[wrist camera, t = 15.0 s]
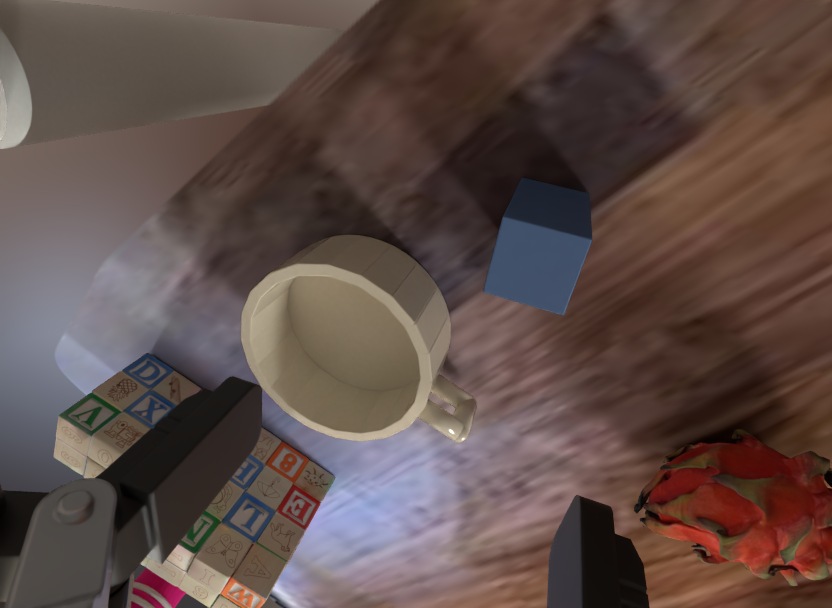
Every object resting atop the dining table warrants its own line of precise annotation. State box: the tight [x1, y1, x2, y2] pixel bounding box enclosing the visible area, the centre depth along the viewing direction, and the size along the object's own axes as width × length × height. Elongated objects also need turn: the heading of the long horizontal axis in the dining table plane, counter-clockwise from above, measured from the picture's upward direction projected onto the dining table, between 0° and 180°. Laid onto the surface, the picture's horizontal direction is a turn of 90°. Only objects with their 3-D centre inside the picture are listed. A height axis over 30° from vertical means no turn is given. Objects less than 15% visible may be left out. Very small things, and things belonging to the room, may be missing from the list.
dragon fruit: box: [634, 429, 832, 586], centre depth 30 cm, size 8×8×12 cm
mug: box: [241, 235, 477, 443], centre depth 34 cm, size 17×14×6 cm
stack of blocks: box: [54, 353, 335, 608], centre depth 42 cm, size 21×6×12 cm, turn 61°
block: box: [483, 178, 592, 315], centre depth 26 cm, size 4×4×8 cm
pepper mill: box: [131, 567, 186, 608], centre depth 43 cm, size 7×7×20 cm
